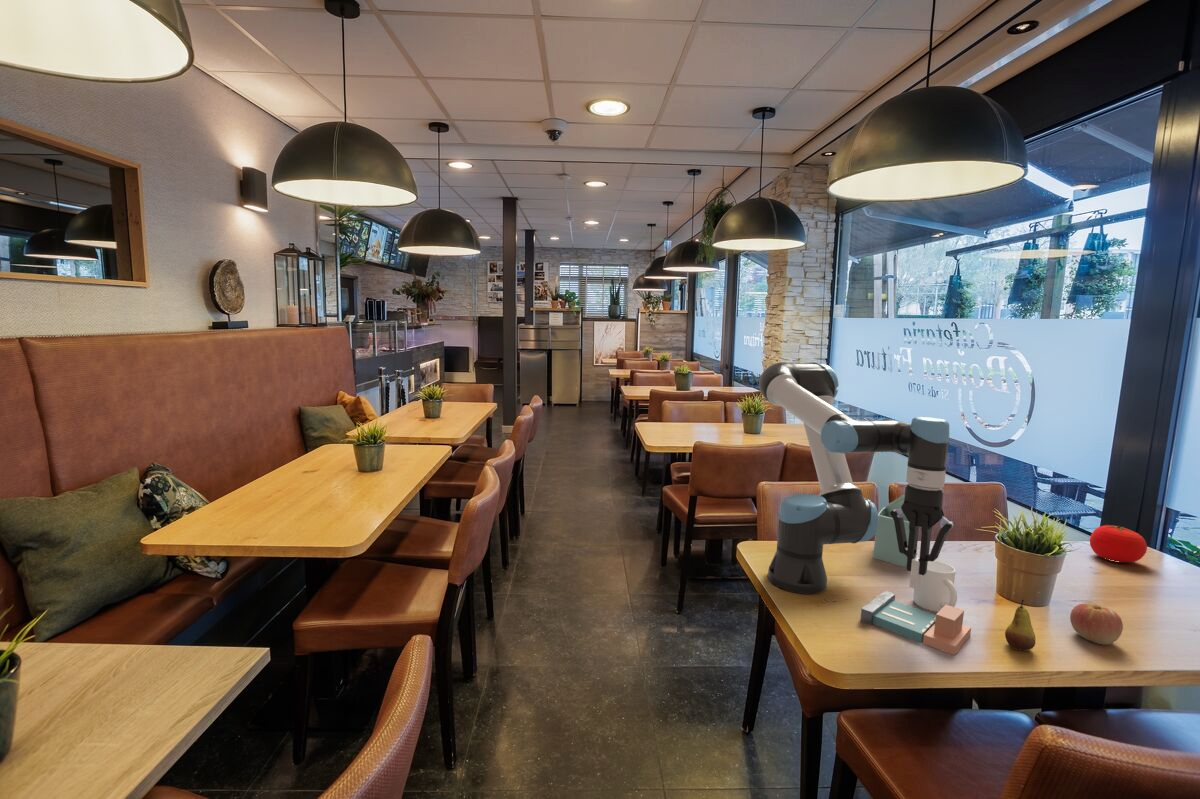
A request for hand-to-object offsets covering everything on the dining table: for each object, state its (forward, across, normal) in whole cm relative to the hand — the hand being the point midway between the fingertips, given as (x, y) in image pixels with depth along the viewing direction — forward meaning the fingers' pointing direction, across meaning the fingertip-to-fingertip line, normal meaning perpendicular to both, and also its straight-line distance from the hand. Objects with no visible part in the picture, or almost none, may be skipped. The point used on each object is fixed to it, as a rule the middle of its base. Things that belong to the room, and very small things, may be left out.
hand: (914, 586), depth 130 cm
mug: (+10, +1, +15) cm, 18 cm away
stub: (+10, +7, 0) cm, 12 cm away
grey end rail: (+10, -8, 0) cm, 12 cm away
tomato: (+10, +28, +96) cm, 100 cm away
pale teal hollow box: (+10, -20, +39) cm, 45 cm away
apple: (+10, +29, +27) cm, 41 cm away
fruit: (+10, +19, +9) cm, 23 cm away
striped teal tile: (+10, -3, 0) cm, 10 cm away
